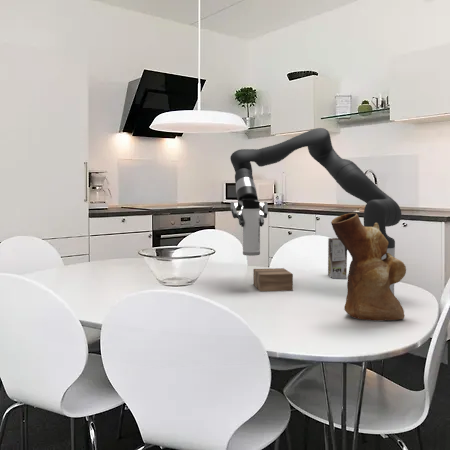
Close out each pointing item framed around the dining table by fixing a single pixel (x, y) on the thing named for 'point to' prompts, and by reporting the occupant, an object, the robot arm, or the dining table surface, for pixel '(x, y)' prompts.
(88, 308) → the dining table surface
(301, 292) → the dining table surface
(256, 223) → the travel mug
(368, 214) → the robot arm
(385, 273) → the ceramic vessel
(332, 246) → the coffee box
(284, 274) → the walnut block
